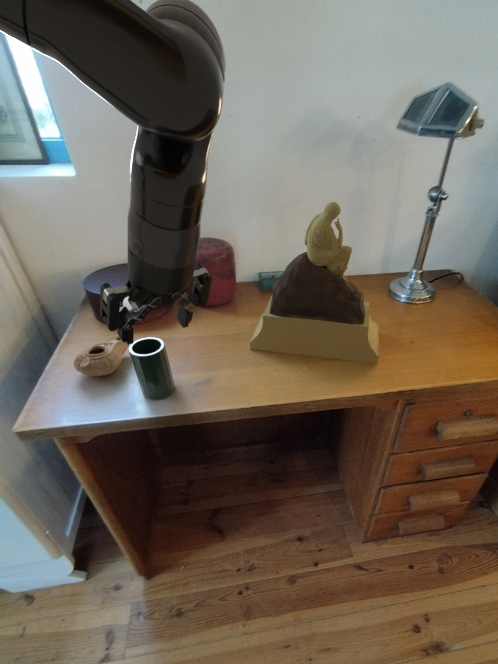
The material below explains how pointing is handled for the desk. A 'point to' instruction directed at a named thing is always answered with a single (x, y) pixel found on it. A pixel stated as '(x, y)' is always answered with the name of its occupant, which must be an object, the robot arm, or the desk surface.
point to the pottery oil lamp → (101, 357)
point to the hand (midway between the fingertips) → (155, 331)
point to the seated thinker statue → (319, 302)
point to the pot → (152, 367)
